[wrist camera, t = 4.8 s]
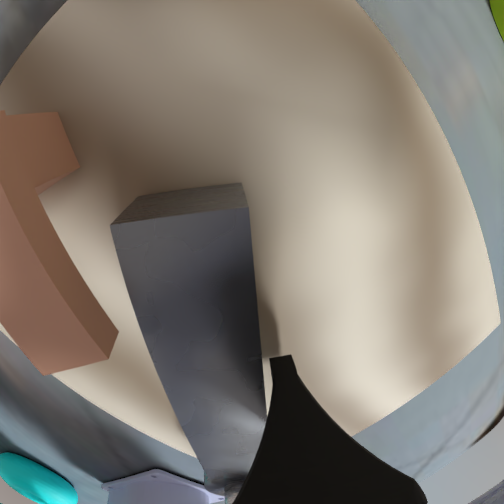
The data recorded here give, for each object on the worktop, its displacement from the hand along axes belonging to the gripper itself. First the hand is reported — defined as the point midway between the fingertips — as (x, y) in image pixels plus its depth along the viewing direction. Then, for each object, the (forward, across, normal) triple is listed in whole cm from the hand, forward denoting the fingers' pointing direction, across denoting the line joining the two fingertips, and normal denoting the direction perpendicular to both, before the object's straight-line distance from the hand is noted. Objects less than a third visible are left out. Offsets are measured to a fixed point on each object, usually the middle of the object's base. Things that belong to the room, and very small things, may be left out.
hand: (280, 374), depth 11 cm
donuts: (+2, +26, +18) cm, 32 cm away
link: (+1, +2, +1) cm, 3 cm away
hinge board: (+2, +1, -2) cm, 3 cm away
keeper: (+1, +6, -7) cm, 9 cm away
